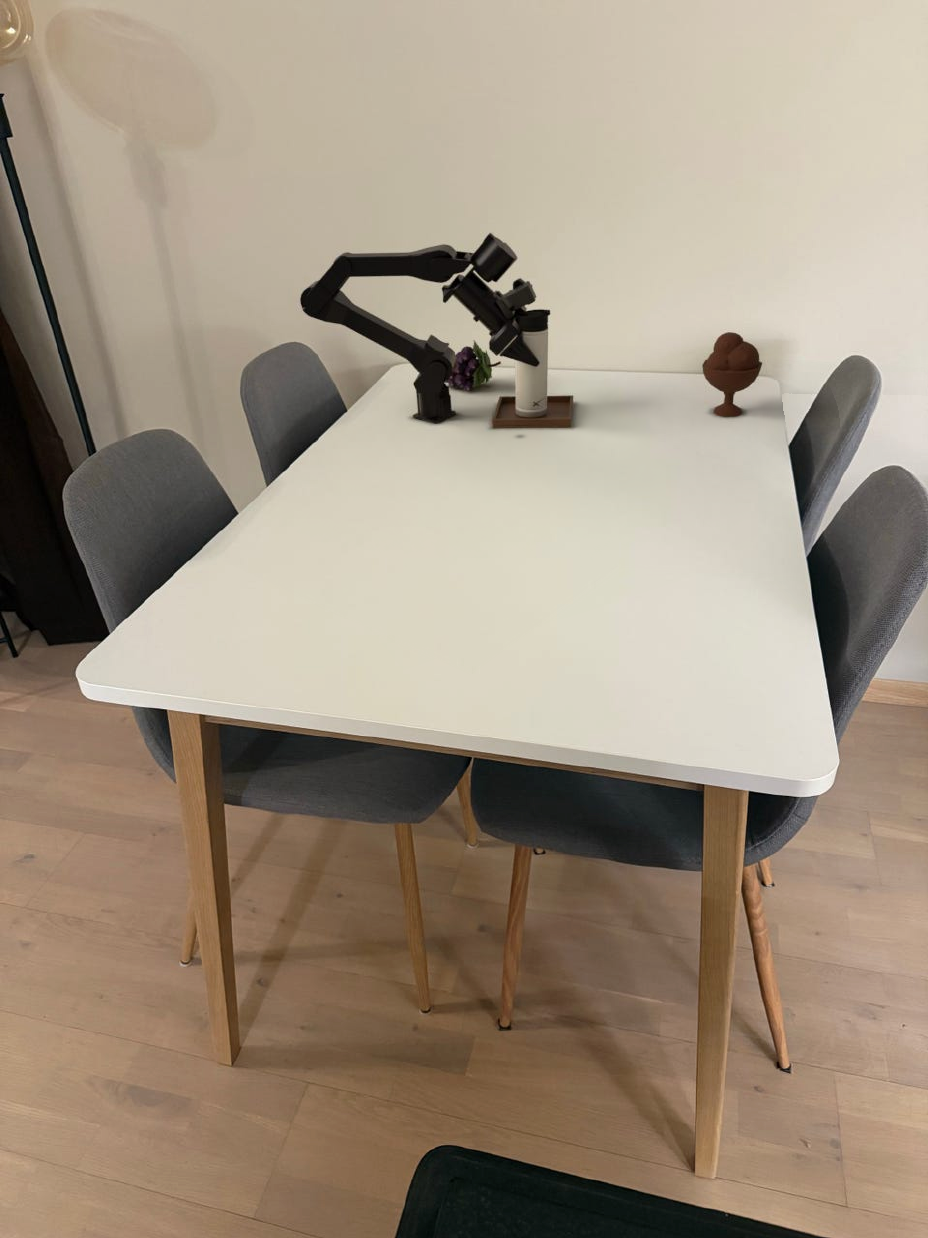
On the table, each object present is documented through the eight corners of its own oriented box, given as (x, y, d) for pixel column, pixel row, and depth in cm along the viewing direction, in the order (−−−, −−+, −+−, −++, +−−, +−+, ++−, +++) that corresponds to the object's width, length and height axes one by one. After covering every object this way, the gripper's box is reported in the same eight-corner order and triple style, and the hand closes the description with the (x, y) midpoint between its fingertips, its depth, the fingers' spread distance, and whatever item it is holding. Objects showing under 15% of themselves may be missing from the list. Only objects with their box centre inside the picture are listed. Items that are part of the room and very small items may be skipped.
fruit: (448, 395, 204) (511, 379, 199) (435, 402, 195) (501, 385, 190) (435, 349, 201) (499, 332, 196) (422, 355, 191) (489, 336, 187)
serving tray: (492, 428, 176) (492, 419, 175) (499, 404, 188) (499, 396, 187) (571, 427, 173) (571, 419, 173) (573, 403, 185) (573, 395, 184)
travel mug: (543, 419, 177) (545, 314, 166) (511, 416, 179) (511, 313, 168) (552, 409, 182) (554, 306, 171) (520, 406, 184) (520, 305, 173)
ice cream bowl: (694, 419, 173) (701, 340, 165) (704, 401, 182) (711, 325, 174) (752, 423, 170) (761, 343, 162) (759, 404, 178) (768, 327, 170)
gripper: (504, 278, 158) (567, 340, 163) (514, 257, 174) (571, 315, 178) (463, 325, 164) (525, 384, 168) (475, 301, 179) (532, 355, 184)
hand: (539, 357), depth 174 cm, fingers open, 9 cm apart
